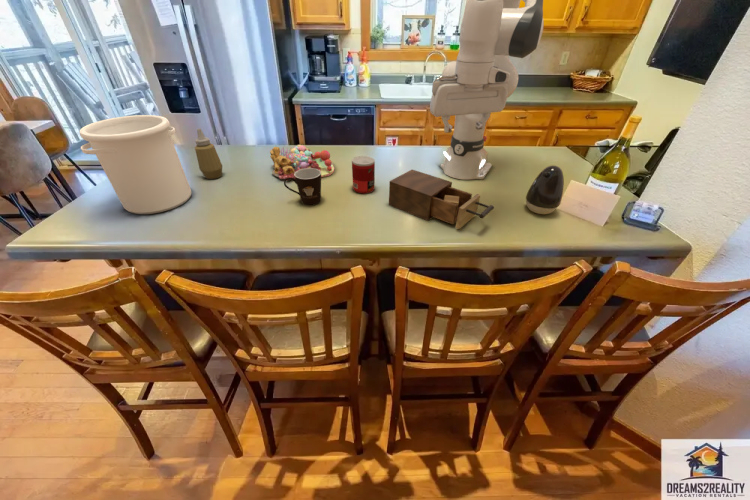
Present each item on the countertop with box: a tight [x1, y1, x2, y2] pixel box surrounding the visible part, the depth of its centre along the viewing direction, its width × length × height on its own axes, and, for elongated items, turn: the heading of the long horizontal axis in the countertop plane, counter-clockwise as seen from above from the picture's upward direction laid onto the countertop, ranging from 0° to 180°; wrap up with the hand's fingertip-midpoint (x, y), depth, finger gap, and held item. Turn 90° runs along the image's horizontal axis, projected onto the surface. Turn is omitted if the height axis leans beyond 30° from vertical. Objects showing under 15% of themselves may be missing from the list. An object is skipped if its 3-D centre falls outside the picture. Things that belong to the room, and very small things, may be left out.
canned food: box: [351, 155, 376, 195], centre depth 113 cm, size 8×8×11 cm
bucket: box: [79, 114, 192, 215], centre depth 101 cm, size 26×22×25 cm
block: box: [444, 195, 459, 216], centre depth 98 cm, size 4×4×4 cm
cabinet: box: [388, 169, 453, 221], centre depth 104 cm, size 16×13×9 cm
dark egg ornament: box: [525, 165, 565, 215], centre depth 100 cm, size 10×10×15 cm
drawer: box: [430, 186, 495, 230], centre depth 97 cm, size 20×11×7 cm, turn 50°
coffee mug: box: [283, 168, 322, 207], centre depth 106 cm, size 12×9×10 cm
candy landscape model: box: [269, 144, 335, 182], centre depth 128 cm, size 25×24×9 cm
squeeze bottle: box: [194, 128, 223, 180], centre depth 119 cm, size 8×8×18 cm
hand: (463, 130), depth 87 cm, fingers open, 8 cm apart
